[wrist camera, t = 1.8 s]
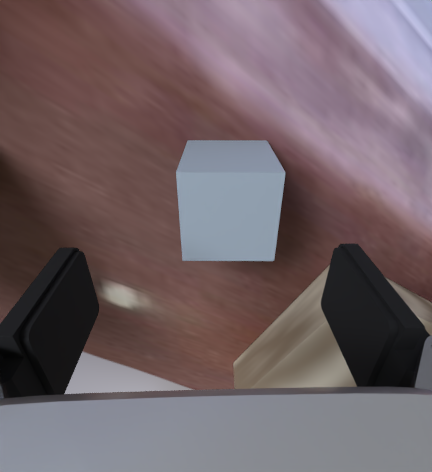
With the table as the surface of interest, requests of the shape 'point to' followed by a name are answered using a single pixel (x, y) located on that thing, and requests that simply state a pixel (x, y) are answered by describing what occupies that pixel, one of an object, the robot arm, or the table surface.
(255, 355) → the base plate
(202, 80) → the table surface
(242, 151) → the grey block
